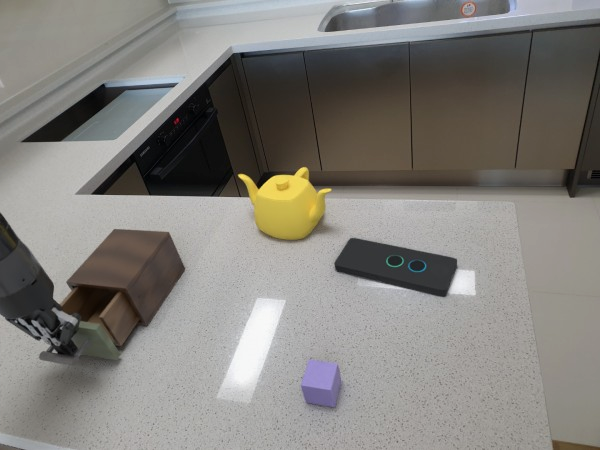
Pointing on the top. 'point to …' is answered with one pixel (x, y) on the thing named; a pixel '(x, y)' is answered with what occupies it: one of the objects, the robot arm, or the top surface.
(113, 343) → the drawer
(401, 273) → the smart home device
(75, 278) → the cabinet
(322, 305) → the top surface
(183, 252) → the top surface
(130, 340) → the top surface
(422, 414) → the top surface
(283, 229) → the teapot
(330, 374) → the lavender cube
